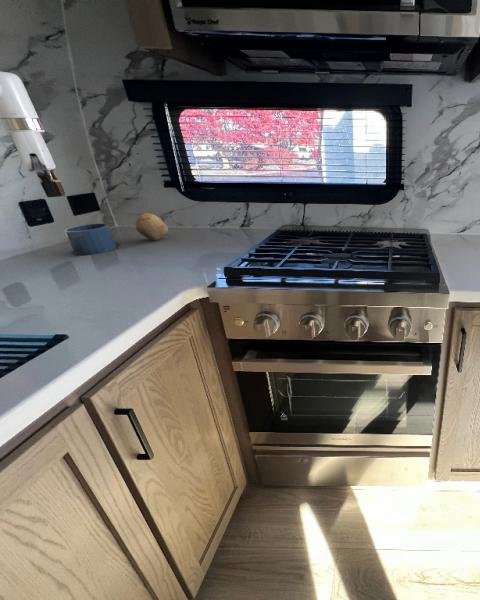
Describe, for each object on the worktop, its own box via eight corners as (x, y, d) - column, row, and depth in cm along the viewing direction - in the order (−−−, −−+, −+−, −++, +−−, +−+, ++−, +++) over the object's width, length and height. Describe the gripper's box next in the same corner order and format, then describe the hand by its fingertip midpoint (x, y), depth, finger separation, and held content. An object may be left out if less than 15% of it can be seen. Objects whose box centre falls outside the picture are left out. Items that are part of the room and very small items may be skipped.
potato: (136, 241, 123) (125, 214, 118) (161, 235, 130) (152, 209, 125) (149, 244, 119) (138, 216, 114) (174, 238, 126) (165, 211, 121)
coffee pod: (45, 198, 96) (37, 182, 94) (48, 196, 99) (41, 180, 97) (65, 196, 98) (58, 180, 96) (68, 194, 101) (61, 179, 99)
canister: (73, 257, 107) (61, 233, 104) (77, 249, 115) (67, 226, 112) (116, 251, 113) (106, 227, 109) (118, 243, 121) (108, 221, 118)
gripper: (13, 127, 94) (45, 193, 103) (-7, 125, 82) (32, 201, 90) (48, 127, 98) (77, 190, 106) (35, 125, 86) (68, 197, 94)
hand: (56, 194), depth 98 cm, fingers closed on coffee pod, 4 cm apart
